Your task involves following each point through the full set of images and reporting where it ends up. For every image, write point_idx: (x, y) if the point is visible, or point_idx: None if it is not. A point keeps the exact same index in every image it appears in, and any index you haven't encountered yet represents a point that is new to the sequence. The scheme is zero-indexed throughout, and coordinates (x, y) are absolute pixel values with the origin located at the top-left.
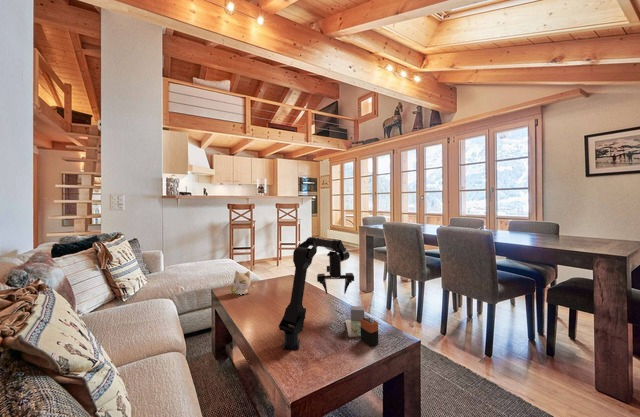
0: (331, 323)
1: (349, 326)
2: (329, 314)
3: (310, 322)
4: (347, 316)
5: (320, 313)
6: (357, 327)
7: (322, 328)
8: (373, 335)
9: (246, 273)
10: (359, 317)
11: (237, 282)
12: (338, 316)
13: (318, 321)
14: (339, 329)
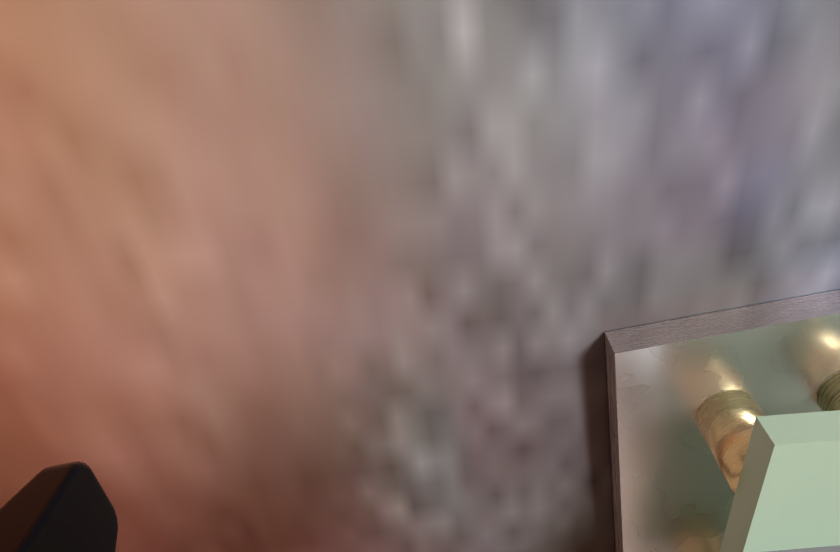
0: (377, 401)
1: (658, 510)
2: (261, 72)
3: (23, 422)
4: (658, 118)
5: (32, 46)
6: None
7: (278, 531)
8: None
9: None
10: None
11: None
12: (472, 143)
13: (143, 376)
14: (512, 518)
